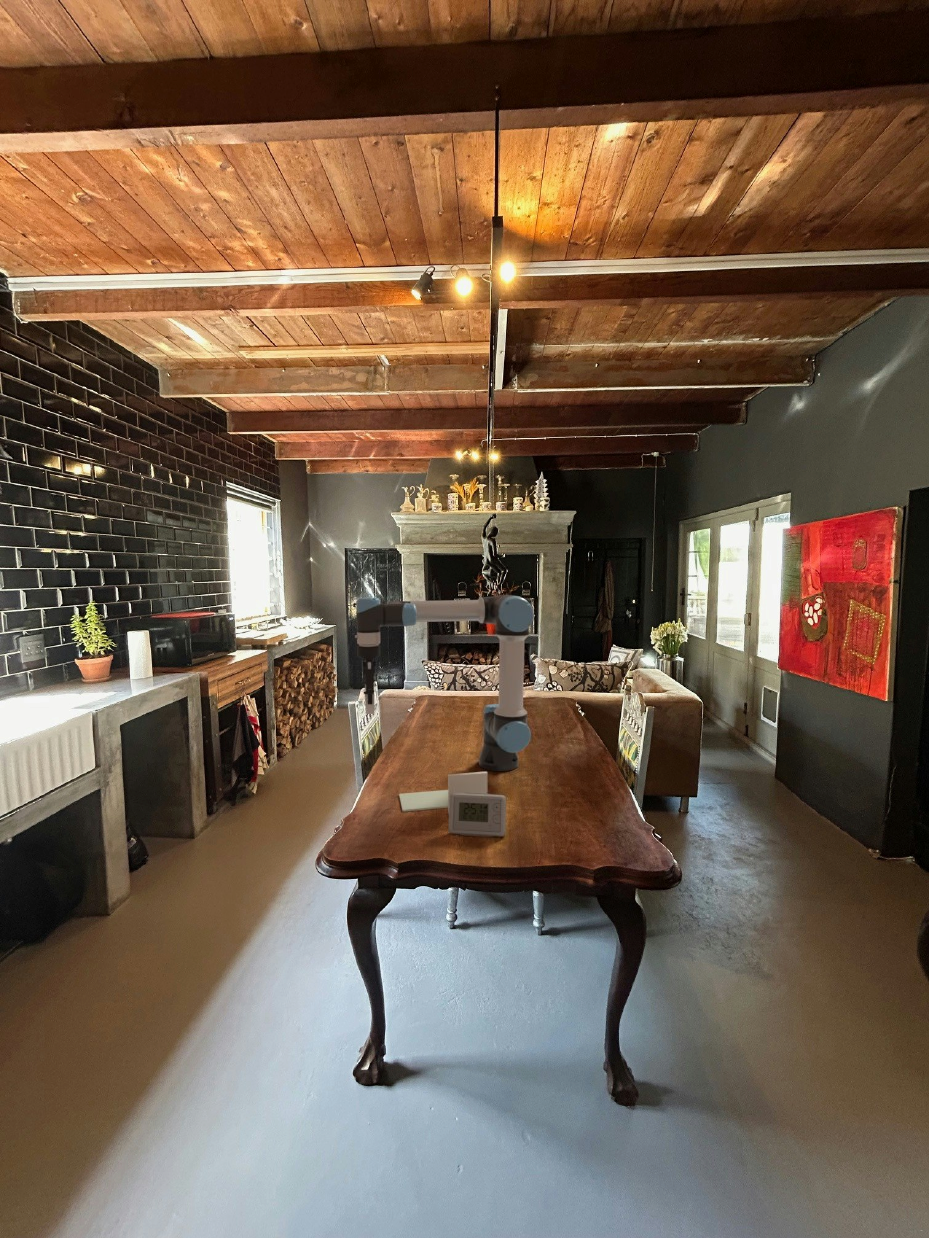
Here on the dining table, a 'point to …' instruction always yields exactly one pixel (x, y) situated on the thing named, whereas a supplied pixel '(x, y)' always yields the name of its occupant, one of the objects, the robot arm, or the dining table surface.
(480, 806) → the digital clock
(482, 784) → the screen
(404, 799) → the mat
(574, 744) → the dining table surface
